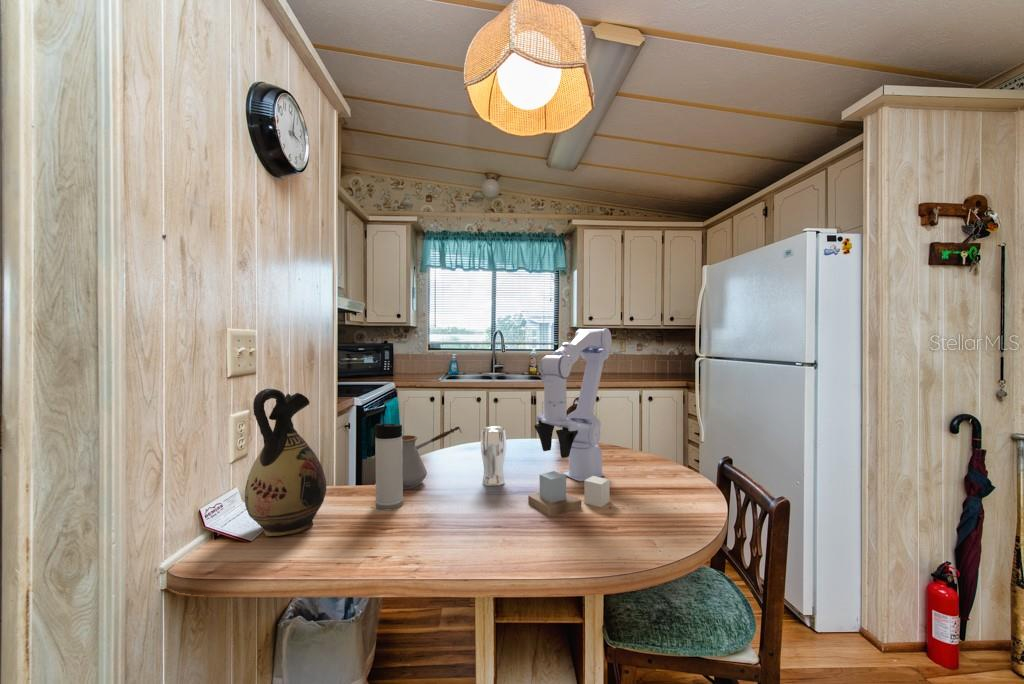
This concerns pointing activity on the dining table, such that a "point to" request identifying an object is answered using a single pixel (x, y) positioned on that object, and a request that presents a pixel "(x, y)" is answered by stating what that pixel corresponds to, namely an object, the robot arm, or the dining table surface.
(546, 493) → the slate block
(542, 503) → the brown block
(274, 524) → the ceramic jug
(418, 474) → the coffee pot
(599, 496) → the cream block
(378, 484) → the travel mug
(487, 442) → the beer glass
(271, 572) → the dining table surface
